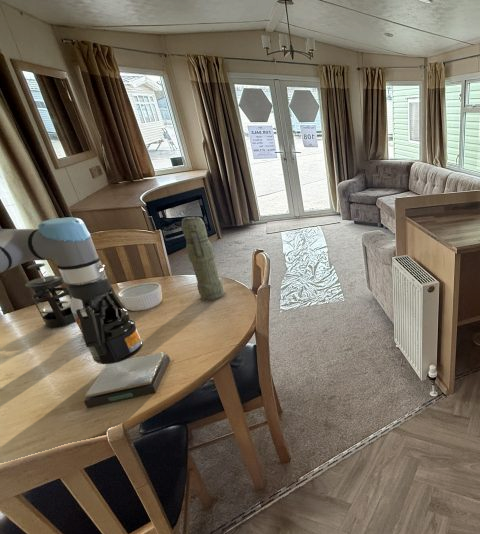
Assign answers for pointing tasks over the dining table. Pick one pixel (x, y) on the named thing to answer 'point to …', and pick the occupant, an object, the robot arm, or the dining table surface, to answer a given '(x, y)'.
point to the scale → (130, 389)
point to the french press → (51, 299)
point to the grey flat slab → (126, 374)
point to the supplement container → (119, 335)
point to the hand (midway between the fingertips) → (118, 349)
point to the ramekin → (141, 296)
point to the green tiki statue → (202, 258)
